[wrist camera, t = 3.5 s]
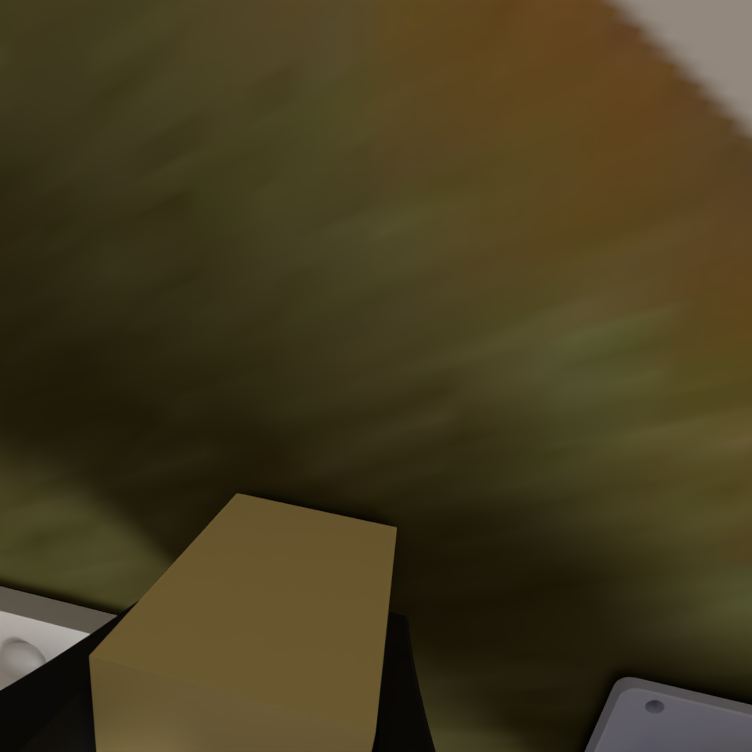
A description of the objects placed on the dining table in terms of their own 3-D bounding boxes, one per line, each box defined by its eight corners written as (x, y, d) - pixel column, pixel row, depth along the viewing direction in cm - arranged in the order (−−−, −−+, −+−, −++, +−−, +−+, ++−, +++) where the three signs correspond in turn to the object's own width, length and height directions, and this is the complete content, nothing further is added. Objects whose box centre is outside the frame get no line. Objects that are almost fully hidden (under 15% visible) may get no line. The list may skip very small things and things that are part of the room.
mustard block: (397, 527, 10) (375, 732, 6) (372, 654, 12) (337, 911, 7) (237, 492, 11) (89, 655, 6) (229, 619, 12) (103, 837, 7)
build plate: (297, 660, 13) (285, 694, 11) (272, 862, 16) (261, 904, 15) (-4, 585, 14) (-40, 610, 12) (29, 789, 17) (2, 823, 16)
